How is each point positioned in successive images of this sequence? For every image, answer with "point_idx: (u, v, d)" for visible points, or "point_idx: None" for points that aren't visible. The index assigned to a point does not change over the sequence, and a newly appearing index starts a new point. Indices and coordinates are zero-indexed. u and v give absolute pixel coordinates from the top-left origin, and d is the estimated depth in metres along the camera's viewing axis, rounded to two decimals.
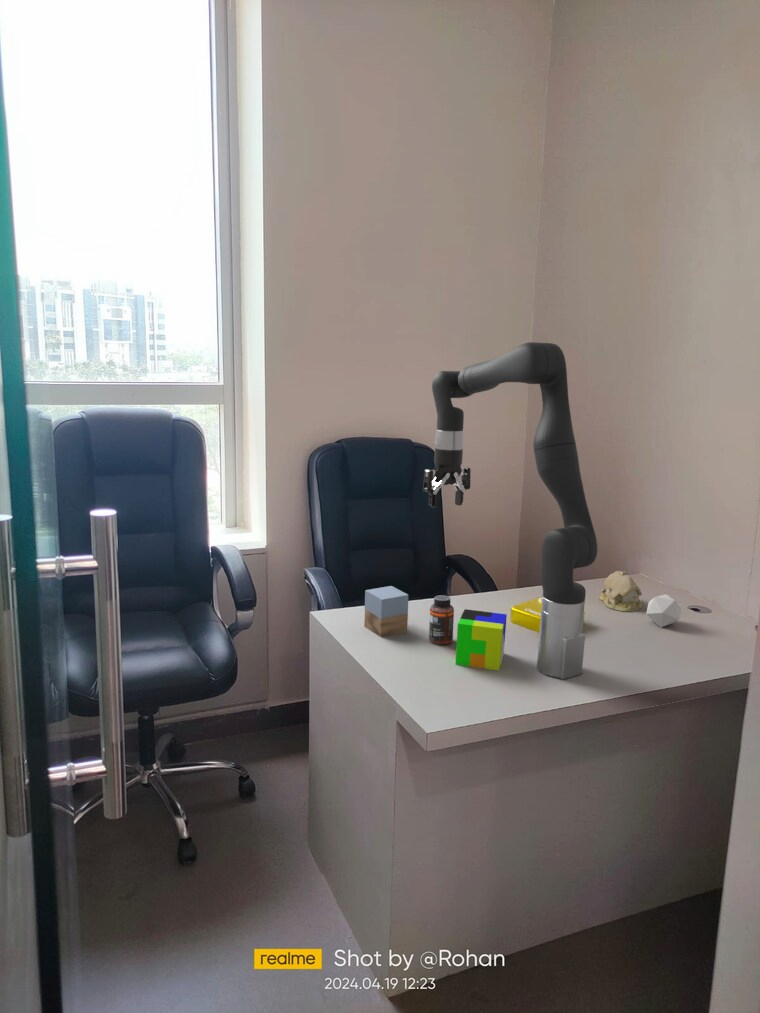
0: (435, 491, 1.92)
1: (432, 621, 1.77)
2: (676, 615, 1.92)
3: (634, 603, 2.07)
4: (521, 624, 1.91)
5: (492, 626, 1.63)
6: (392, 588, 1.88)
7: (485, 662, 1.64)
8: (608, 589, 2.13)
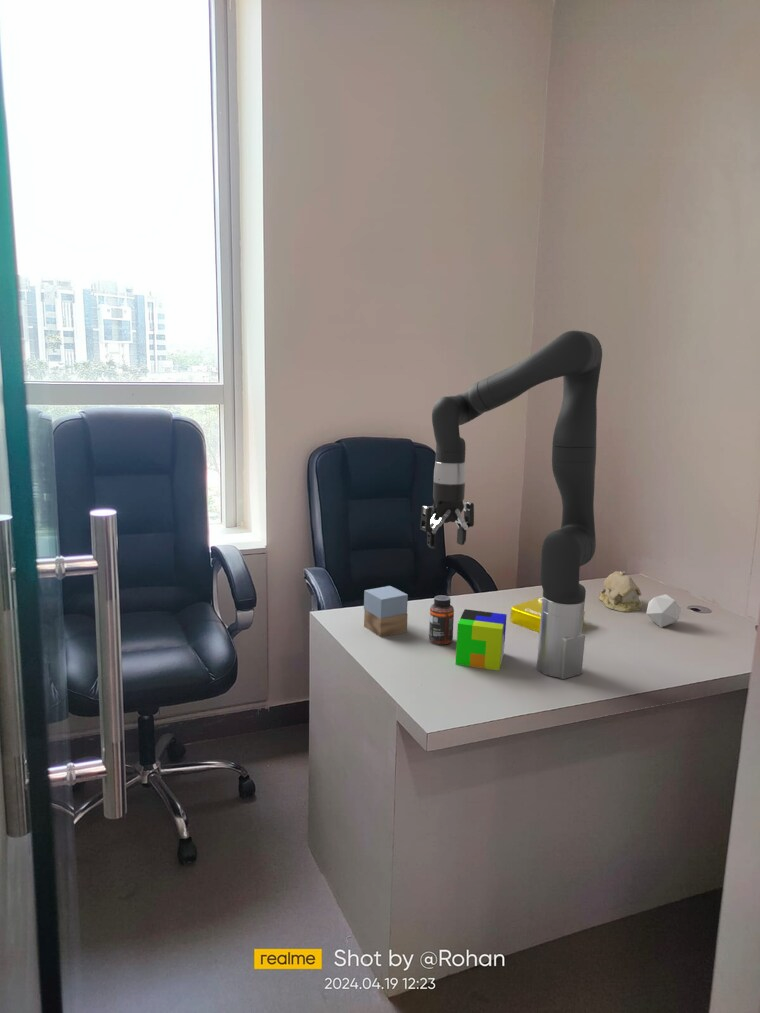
0: (434, 530, 1.72)
1: (432, 621, 1.77)
2: (676, 615, 1.92)
3: (634, 603, 2.07)
4: (522, 624, 1.91)
5: (492, 626, 1.63)
6: (391, 588, 1.88)
7: (485, 662, 1.64)
8: (607, 589, 2.13)
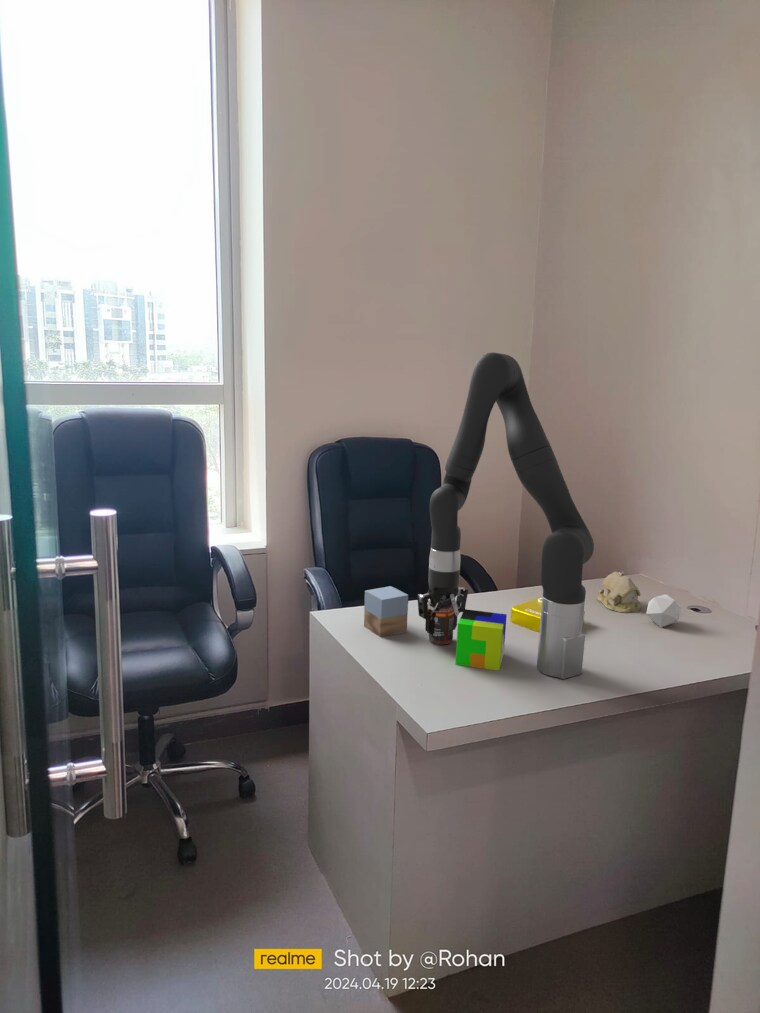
0: (432, 617, 1.75)
1: None
2: (676, 615, 1.92)
3: (633, 604, 2.06)
4: (522, 625, 1.91)
5: (492, 626, 1.63)
6: (392, 588, 1.88)
7: (485, 662, 1.64)
8: (606, 590, 2.12)
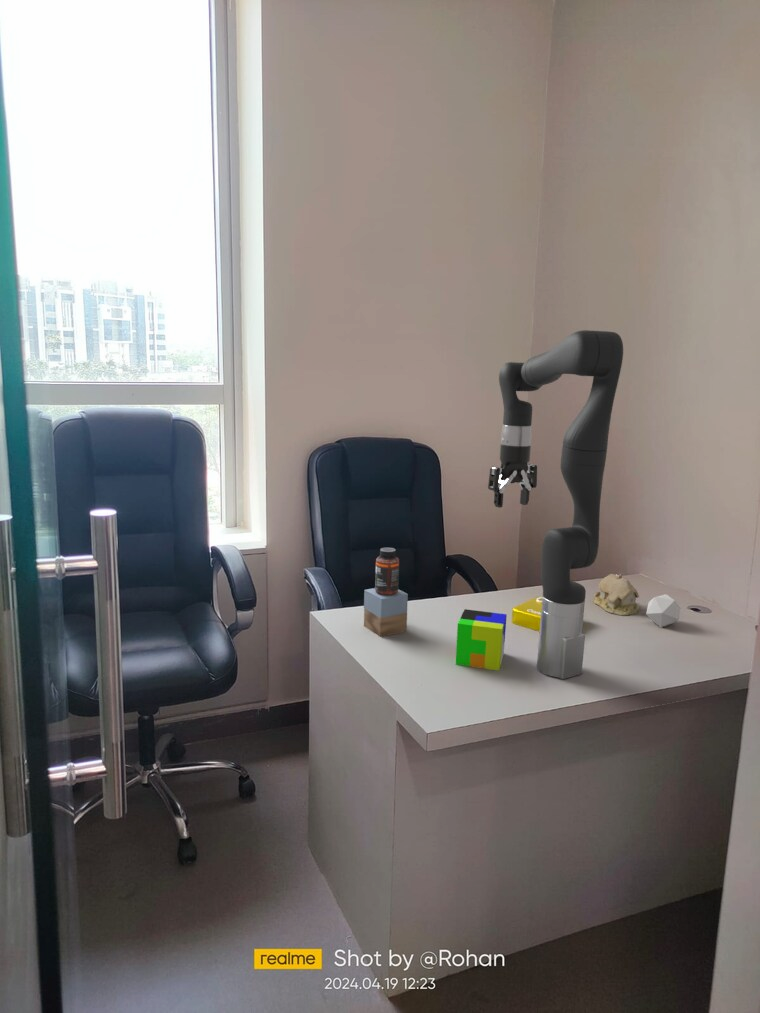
0: (502, 489, 1.82)
1: (376, 571, 1.82)
2: (676, 615, 1.92)
3: (632, 606, 2.05)
4: (525, 625, 1.90)
5: (492, 626, 1.63)
6: None
7: (485, 662, 1.64)
8: (603, 593, 2.09)
